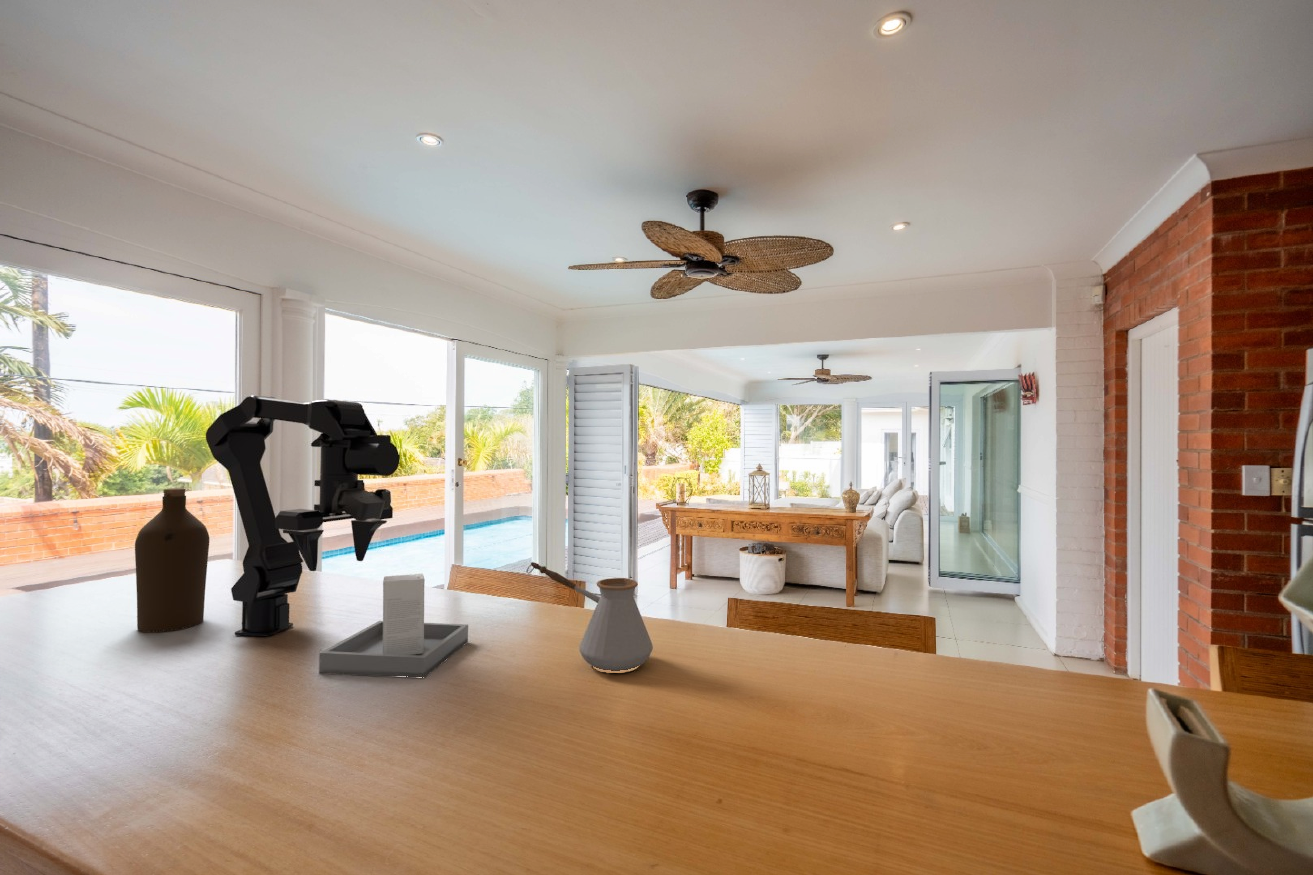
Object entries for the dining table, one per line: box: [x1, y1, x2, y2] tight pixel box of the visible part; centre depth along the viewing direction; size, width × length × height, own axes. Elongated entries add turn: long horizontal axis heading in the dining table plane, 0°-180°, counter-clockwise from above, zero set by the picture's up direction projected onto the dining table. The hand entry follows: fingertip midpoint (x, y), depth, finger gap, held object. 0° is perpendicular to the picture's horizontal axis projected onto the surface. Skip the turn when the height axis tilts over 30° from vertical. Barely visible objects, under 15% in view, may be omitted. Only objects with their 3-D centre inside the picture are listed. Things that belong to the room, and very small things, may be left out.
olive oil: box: [134, 487, 210, 633], centre depth 109 cm, size 11×11×25 cm
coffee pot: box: [526, 561, 654, 671], centre depth 94 cm, size 21×12×15 cm, turn 73°
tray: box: [318, 620, 469, 678], centre depth 95 cm, size 16×16×3 cm
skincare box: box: [382, 573, 425, 655], centre depth 94 cm, size 6×4×12 cm
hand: (337, 565), depth 101 cm, fingers open, 9 cm apart
